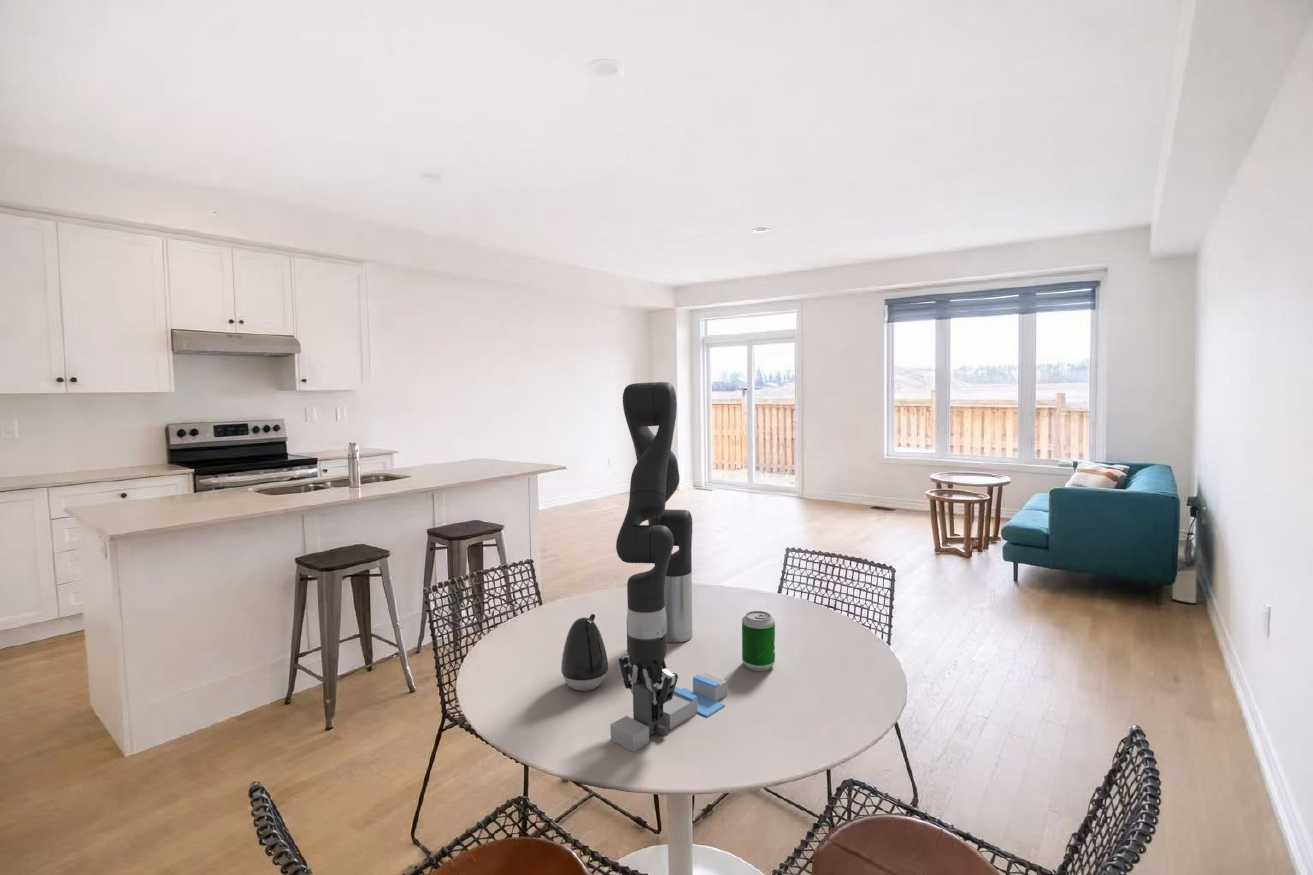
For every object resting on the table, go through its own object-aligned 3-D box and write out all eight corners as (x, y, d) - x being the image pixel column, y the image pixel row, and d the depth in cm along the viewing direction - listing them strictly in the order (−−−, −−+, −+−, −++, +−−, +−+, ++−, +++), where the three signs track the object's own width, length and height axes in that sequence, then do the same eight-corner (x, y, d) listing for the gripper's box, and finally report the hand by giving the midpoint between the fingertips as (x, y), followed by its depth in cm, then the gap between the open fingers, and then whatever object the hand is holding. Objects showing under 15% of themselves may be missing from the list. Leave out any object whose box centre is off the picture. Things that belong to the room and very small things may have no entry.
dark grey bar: (633, 728, 124) (632, 683, 123) (648, 720, 127) (647, 676, 126) (658, 741, 120) (657, 694, 119) (672, 732, 122) (672, 686, 122)
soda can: (774, 673, 146) (774, 622, 145) (741, 671, 148) (740, 620, 147) (775, 659, 154) (775, 610, 153) (743, 657, 155) (743, 608, 154)
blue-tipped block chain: (601, 734, 123) (601, 716, 122) (696, 682, 143) (696, 666, 143) (643, 757, 115) (643, 738, 115) (736, 698, 135) (736, 682, 135)
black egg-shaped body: (616, 677, 146) (614, 612, 144) (596, 699, 136) (595, 629, 134) (575, 671, 149) (573, 607, 148) (553, 692, 139) (551, 624, 138)
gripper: (606, 625, 124) (608, 711, 126) (660, 646, 114) (662, 738, 116) (634, 614, 130) (635, 696, 131) (688, 633, 120) (689, 721, 122)
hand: (648, 715), depth 124 cm, fingers closed on dark grey bar, 4 cm apart
